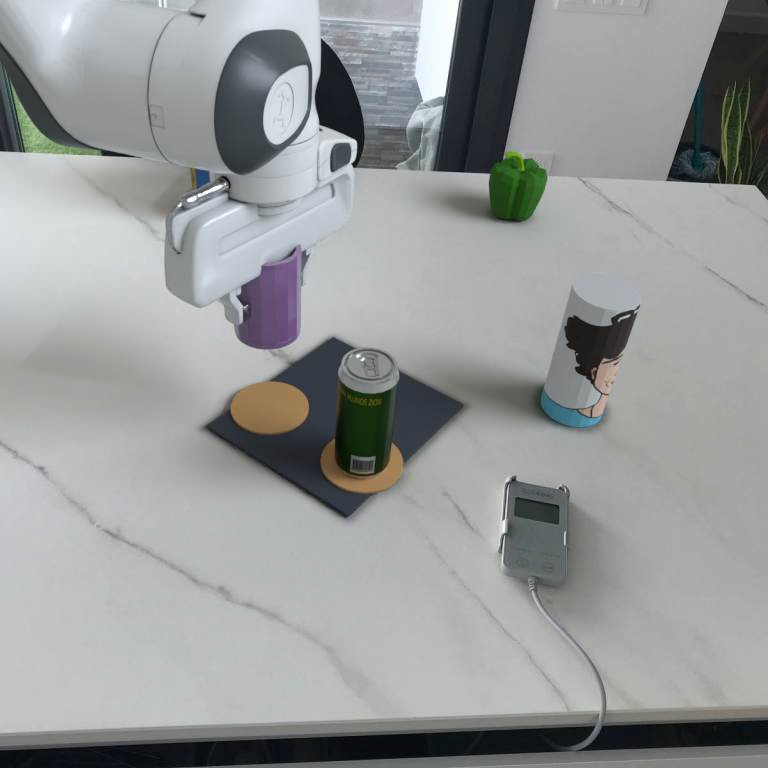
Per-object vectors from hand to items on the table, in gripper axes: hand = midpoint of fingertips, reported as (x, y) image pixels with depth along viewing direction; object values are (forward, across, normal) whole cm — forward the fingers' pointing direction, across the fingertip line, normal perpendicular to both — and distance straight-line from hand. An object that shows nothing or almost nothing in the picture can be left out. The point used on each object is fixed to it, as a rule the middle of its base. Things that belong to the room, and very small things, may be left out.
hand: (267, 302), depth 72 cm
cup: (+14, +22, -24) cm, 35 cm away
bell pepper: (+14, +57, +3) cm, 59 cm away
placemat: (+14, +4, -6) cm, 15 cm away
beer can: (+13, 0, -12) cm, 18 cm away
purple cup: (+3, 0, 0) cm, 3 cm away
